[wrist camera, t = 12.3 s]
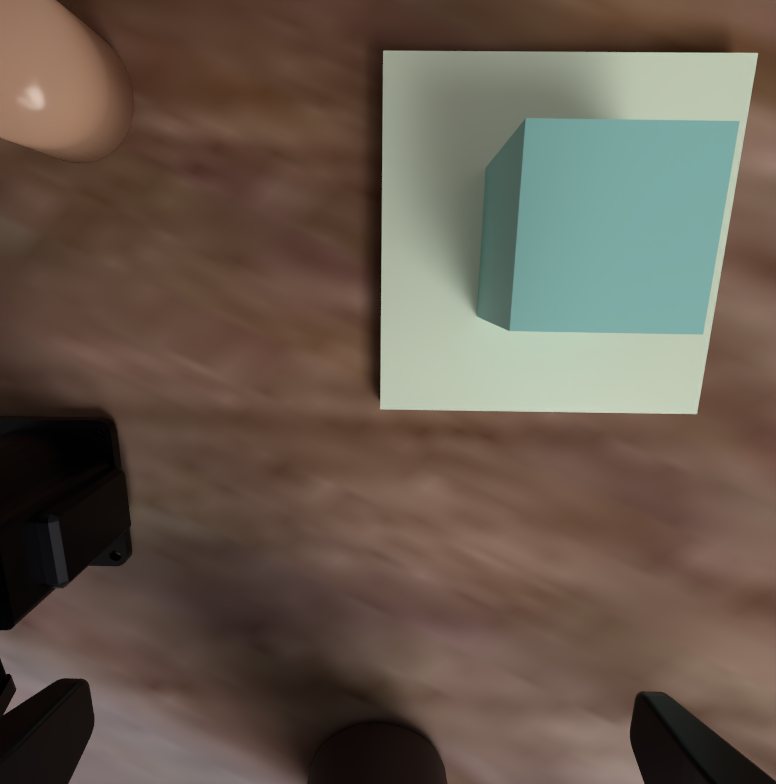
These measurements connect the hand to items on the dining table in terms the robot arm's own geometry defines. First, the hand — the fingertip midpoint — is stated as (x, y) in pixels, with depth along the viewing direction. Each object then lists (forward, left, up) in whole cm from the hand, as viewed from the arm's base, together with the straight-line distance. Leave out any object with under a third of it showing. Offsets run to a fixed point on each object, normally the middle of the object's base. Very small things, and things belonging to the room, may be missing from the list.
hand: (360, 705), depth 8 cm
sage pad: (+6, +8, -12) cm, 16 cm away
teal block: (+6, +8, -11) cm, 15 cm away
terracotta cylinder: (-11, +13, -12) cm, 21 cm away
